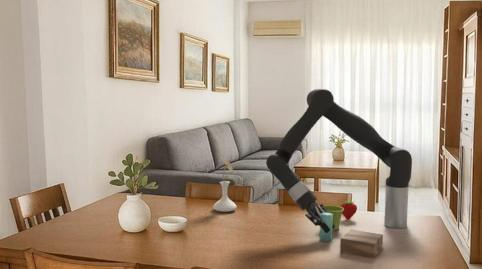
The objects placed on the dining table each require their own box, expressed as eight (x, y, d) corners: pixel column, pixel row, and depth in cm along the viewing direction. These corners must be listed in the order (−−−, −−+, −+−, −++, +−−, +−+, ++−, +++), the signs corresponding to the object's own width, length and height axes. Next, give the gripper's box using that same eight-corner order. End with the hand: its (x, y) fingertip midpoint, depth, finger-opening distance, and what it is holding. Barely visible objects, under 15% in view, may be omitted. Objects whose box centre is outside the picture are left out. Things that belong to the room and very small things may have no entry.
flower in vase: (236, 213, 216) (236, 160, 213) (211, 213, 216) (211, 160, 213) (237, 206, 229) (237, 156, 226) (213, 206, 229) (213, 156, 226)
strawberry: (358, 221, 203) (358, 199, 202) (340, 221, 203) (341, 199, 202) (355, 218, 209) (355, 196, 208) (338, 217, 209) (338, 196, 208)
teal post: (322, 236, 182) (323, 212, 181) (333, 238, 180) (334, 213, 179) (318, 240, 178) (318, 214, 177) (329, 242, 176) (330, 216, 175)
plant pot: (343, 232, 188) (343, 211, 187) (319, 231, 190) (320, 210, 189) (343, 226, 197) (343, 206, 196) (320, 224, 199) (320, 204, 198)
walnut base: (350, 242, 176) (350, 229, 176) (382, 247, 170) (382, 234, 170) (340, 251, 166) (340, 238, 165) (373, 258, 160) (374, 244, 159)
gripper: (301, 193, 175) (331, 229, 170) (315, 186, 187) (343, 219, 182) (288, 205, 178) (317, 241, 173) (303, 197, 190) (330, 230, 185)
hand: (330, 229), depth 178 cm, fingers closed on teal post, 4 cm apart
